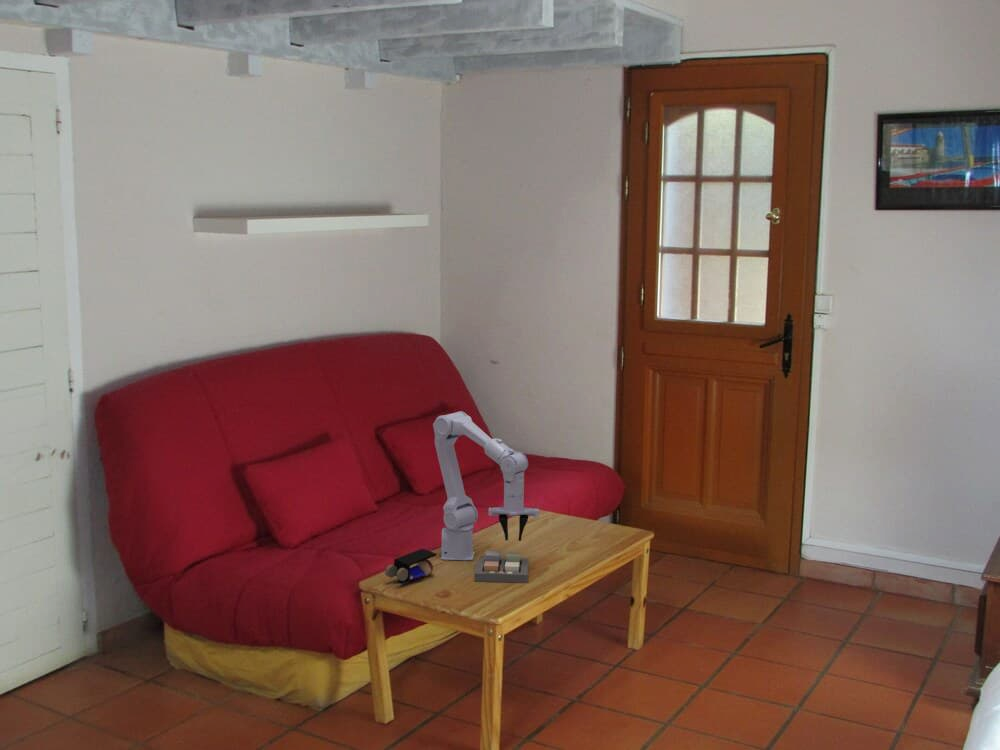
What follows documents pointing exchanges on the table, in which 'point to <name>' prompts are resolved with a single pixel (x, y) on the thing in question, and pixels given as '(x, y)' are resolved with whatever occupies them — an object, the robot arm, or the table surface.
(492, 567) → the key terracotta
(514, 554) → the key sage
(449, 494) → the robot arm
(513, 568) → the key cream
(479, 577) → the keypad bezel
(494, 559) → the key slate
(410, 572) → the black toy vehicle
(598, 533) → the table surface
